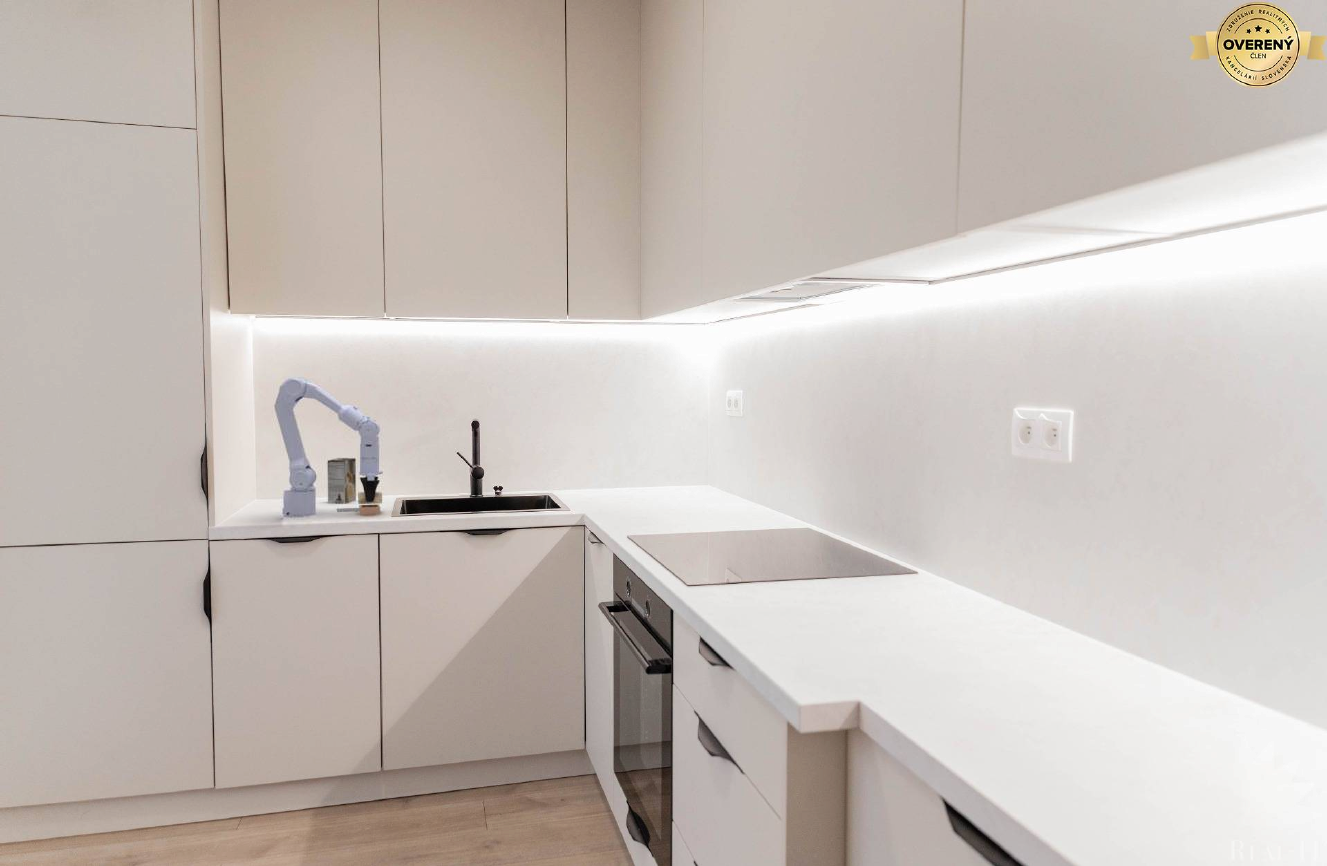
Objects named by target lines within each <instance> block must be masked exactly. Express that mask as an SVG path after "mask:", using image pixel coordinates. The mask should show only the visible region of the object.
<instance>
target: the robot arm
mask: <svg viewBox="0 0 1327 866" xmlns="http://www.w3.org/2000/svg"><path fill="white" fill-rule="evenodd" d="M303 398H306V399H311V400H312V399H313V400H316V401H317V402H319V403H321V404H322V405H324V406H325V407H327V408H329V409H330V410H331V411H333V412H334V413H336V414H337V417H338V421H341V422H342V423H343V424H345V425H346V426H348V427H349V428H350V429H352V430H353V431H356V432H358V434H359V436H360V443H359V472H358V473H359V475H360V476H363V477H359V480H360V482H361V484H362V488H363V492H365V497H366V501H367V502H374V498H375V492H377V489H378V488H377V487H378V485H379V484H380V479H379V475H384V472H383V471H381V470H380V443H379V441H380V439H379V436H378V435H379V434H380V432H381V431H380V430H381V426H380V424H379V423H378V422H377V421H376V420H375V419H371V417H370V415H365V414H364V413H363V412H361V411H359V408H358V407H357V406H356V405H351V404H348V405H344V404H342V403H341V402H340V401H338V399H336V398H335V397H333V396H332V395H331V394H329V393H328V392H326V390H324V389H322V388H321V387H320V386H318V385H316V384H315V383H314V382H311V381H308V379H306V378H304V377H296V376H295V377H294V376H293V377H288V378H287V379H285V381H283V382H282V384H281V385H280V386H279V390H278V394H277V397H276V398H275V403H274V406H273V407H274V411H275V415H276V419H277V422H278V425H279V428H280V433H281V437H282V439H283V443H284V447H285V450H286V453H287V457H288V460H289V466H288V469H289V474H290V475H289V479H288V480H289V484H290V486H291V487H290V489H289V490H283V507H282V515H283V517H307V516H314V515H316V513H317V509H316V508H317V507H316V501H317V500H316V494H317V493H316V487H315V485H314V484H315V483H316V480H317V473H316V471H315V470H314V469H313V468H312V466H311V463H310V461H309V459H308V457H307V455H306V451H305V448H304V444H303V441H302V437H301V433H300V431H299V430H300V429H299V427H298V423H297V419H296V416H295V411H294V408H295V407H296V405H297V404H298V403H299V402H300V401H301V400H302V399H303Z"/></svg>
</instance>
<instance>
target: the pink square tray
mask: <svg viewBox="0 0 1327 866" xmlns="http://www.w3.org/2000/svg"><path fill="white" fill-rule="evenodd" d="M358 508H359V511H358V513H359V515H360V516H372V515H374V516H375V515H381V506H380V503H379V504H358Z"/></svg>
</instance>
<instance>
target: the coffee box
mask: <svg viewBox="0 0 1327 866" xmlns="http://www.w3.org/2000/svg"><path fill="white" fill-rule="evenodd" d="M356 462H357V461H356V458H355V457H354V458H351V457H350V458H349V457H337V458H334V459H329V460H327V504H336V505H339V504H340V505H341V504H342V505H347V504H350V503H351V502H355V501H357V492H356V491H357V488H356V487H357V485H356V484H357V483H356V481H357V480H356V478H357V476H356V474H357V473H356V469H357V467H356Z"/></svg>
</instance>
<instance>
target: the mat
mask: <svg viewBox="0 0 1327 866" xmlns="http://www.w3.org/2000/svg"><path fill="white" fill-rule="evenodd" d="M336 511H337V513H349V512H351V513H352V512H359V507H345V508H340V507H339V508H336Z"/></svg>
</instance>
